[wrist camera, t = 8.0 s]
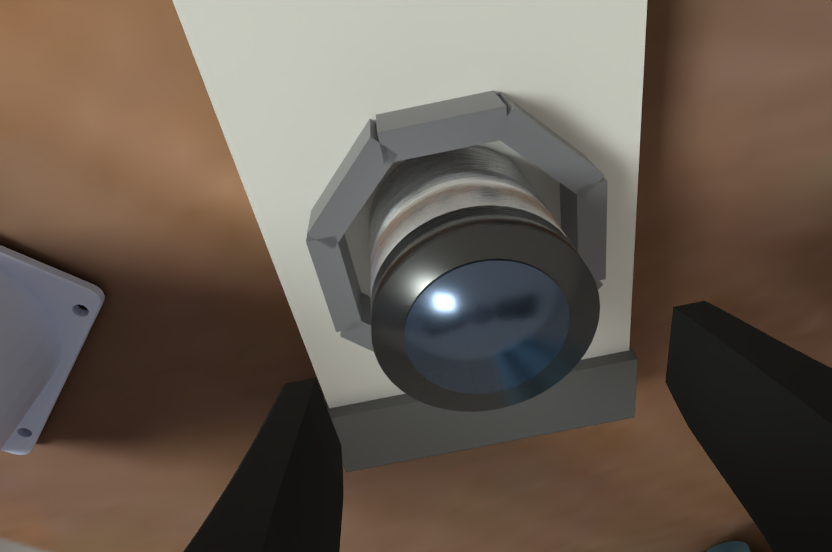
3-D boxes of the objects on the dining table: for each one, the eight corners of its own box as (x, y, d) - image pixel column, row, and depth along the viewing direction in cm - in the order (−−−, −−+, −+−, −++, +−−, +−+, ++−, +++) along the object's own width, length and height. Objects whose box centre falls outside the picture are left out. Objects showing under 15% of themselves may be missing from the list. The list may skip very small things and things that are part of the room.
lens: (469, 318, 18) (503, 440, 13) (337, 250, 16) (327, 365, 12) (571, 200, 16) (649, 299, 11) (433, 107, 14) (464, 182, 10)
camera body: (603, 364, 23) (645, 438, 19) (348, 413, 23) (345, 495, 20) (614, -174, 13) (701, -213, 10) (171, -78, 13) (107, -83, 10)
